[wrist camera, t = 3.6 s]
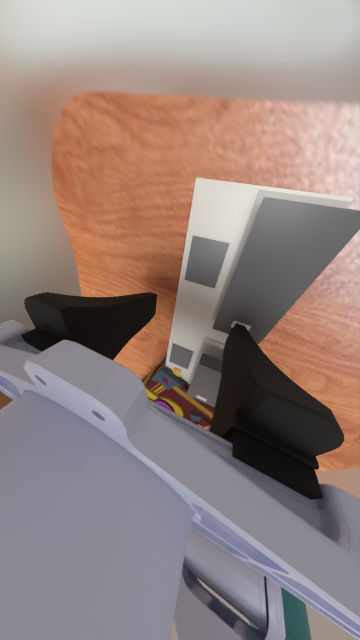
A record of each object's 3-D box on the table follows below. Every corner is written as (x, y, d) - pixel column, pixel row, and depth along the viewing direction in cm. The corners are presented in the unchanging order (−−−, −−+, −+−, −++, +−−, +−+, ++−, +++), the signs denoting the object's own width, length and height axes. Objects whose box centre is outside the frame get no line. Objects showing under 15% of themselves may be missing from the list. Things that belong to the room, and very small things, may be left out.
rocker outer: (357, 210, 6) (375, 213, 5) (257, 333, 11) (257, 345, 10) (264, 196, 6) (265, 197, 5) (215, 319, 12) (211, 329, 11)
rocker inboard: (241, 368, 12) (240, 382, 11) (215, 397, 18) (213, 408, 17) (202, 352, 13) (198, 364, 12) (189, 385, 18) (186, 395, 17)
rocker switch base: (324, 207, 9) (358, 196, 6) (220, 377, 20) (217, 398, 18) (206, 190, 11) (194, 175, 8) (172, 356, 22) (163, 373, 20)
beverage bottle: (290, 457, 24) (381, 869, 9) (261, 458, 28) (285, 739, 13) (259, 436, 25) (293, 803, 9) (234, 440, 29) (226, 696, 13)
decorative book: (229, 390, 22) (226, 425, 18) (178, 410, 32) (169, 435, 28) (173, 347, 21) (158, 372, 18) (140, 381, 31) (125, 402, 27)
